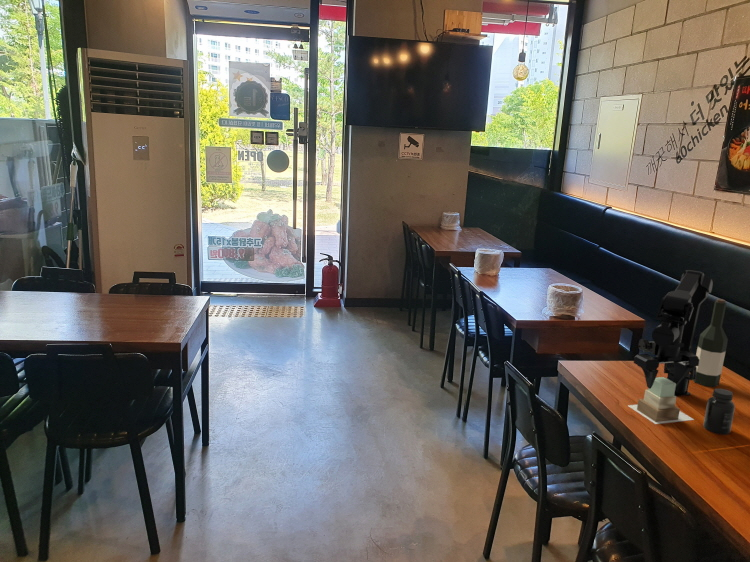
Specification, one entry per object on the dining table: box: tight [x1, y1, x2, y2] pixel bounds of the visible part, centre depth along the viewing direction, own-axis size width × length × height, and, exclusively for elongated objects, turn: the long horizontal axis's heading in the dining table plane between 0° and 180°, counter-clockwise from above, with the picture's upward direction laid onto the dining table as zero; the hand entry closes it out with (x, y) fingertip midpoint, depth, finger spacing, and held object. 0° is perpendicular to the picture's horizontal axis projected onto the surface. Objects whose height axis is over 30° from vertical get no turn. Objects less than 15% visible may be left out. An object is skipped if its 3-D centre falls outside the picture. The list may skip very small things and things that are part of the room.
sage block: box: [647, 376, 676, 397], centre depth 168 cm, size 5×5×4 cm
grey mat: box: [627, 403, 695, 425], centre depth 171 cm, size 14×12×1 cm
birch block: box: [643, 389, 678, 409], centre depth 169 cm, size 6×6×4 cm
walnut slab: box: [636, 398, 681, 422], centre depth 170 cm, size 8×8×4 cm
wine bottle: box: [691, 298, 729, 388], centre depth 193 cm, size 8×8×30 cm
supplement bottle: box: [703, 388, 736, 436], centre depth 161 cm, size 7×7×12 cm
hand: (661, 386), depth 168 cm, fingers open, 9 cm apart
